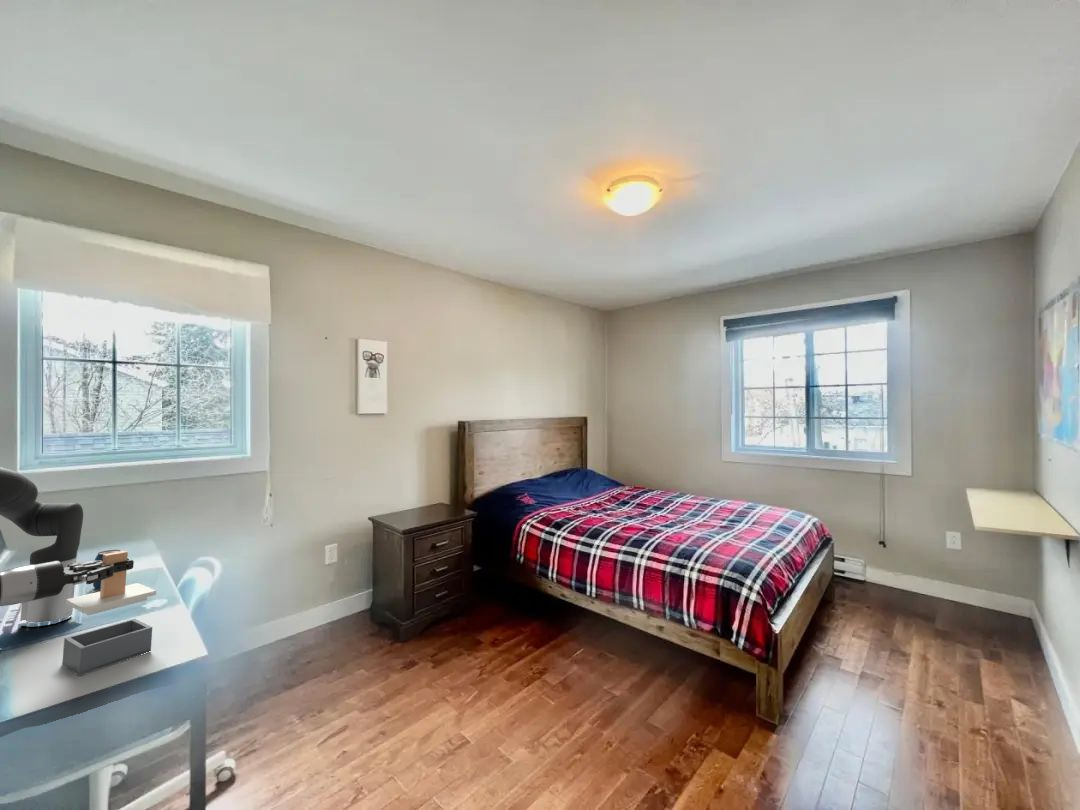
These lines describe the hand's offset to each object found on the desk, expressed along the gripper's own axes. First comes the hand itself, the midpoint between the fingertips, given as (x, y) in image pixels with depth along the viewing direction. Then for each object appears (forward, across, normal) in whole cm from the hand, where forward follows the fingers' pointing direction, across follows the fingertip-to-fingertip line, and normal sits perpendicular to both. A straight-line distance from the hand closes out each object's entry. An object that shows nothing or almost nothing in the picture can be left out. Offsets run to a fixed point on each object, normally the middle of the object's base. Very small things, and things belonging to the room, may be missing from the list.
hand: (130, 563), depth 113 cm
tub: (-3, 0, +22) cm, 22 cm away
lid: (-3, 0, +9) cm, 9 cm away
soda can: (+17, +63, +23) cm, 69 cm away
